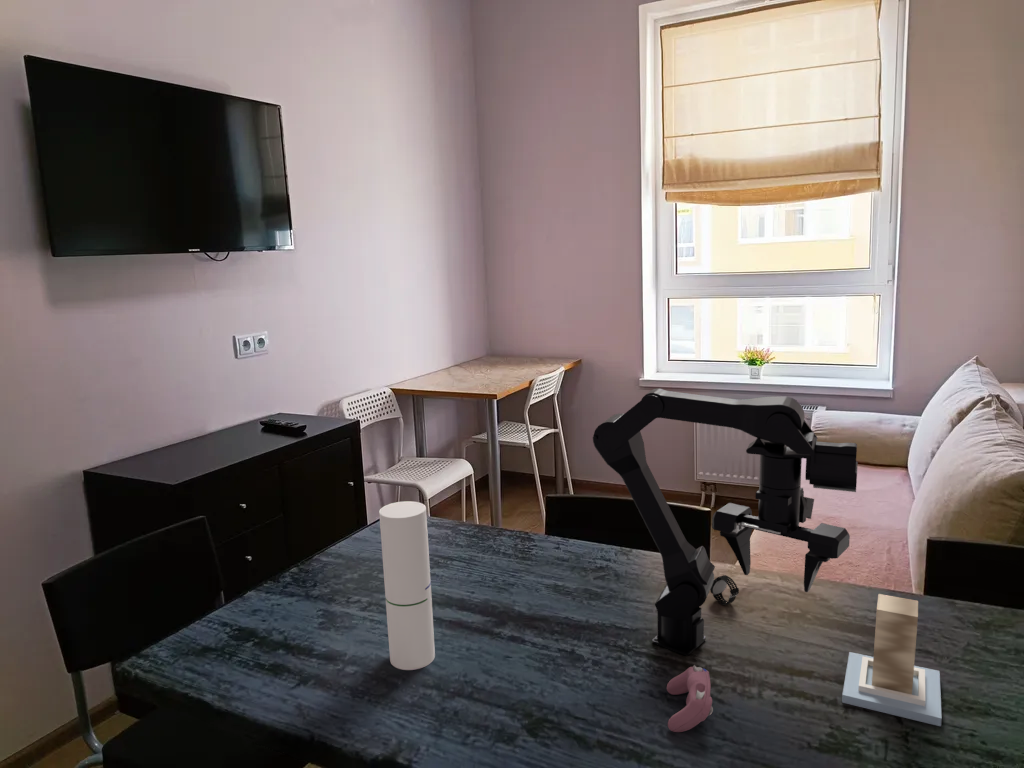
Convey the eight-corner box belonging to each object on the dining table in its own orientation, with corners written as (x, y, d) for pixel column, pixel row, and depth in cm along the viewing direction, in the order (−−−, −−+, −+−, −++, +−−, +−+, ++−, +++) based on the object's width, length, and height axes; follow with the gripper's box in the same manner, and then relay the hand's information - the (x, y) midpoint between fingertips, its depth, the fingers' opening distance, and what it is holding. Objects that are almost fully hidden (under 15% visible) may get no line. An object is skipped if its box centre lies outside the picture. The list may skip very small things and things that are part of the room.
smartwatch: (728, 596, 135) (729, 570, 134) (740, 609, 130) (741, 583, 129) (706, 598, 134) (707, 572, 133) (717, 612, 129) (718, 585, 128)
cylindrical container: (442, 648, 121) (433, 503, 116) (423, 673, 114) (413, 520, 109) (402, 642, 123) (393, 499, 118) (381, 665, 116) (370, 515, 111)
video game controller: (696, 747, 98) (721, 707, 96) (664, 730, 98) (689, 690, 96) (692, 701, 107) (715, 664, 106) (663, 686, 108) (686, 649, 106)
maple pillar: (871, 687, 105) (876, 609, 102) (873, 669, 109) (878, 593, 107) (911, 696, 102) (917, 617, 100) (912, 677, 106) (918, 600, 104)
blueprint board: (841, 702, 103) (842, 689, 103) (849, 658, 114) (849, 647, 113) (940, 726, 98) (942, 712, 97) (938, 678, 108) (939, 666, 108)
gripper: (864, 481, 108) (858, 580, 111) (742, 459, 120) (740, 549, 123) (838, 502, 100) (833, 609, 103) (711, 477, 112) (709, 573, 115)
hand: (776, 582), depth 111 cm, fingers open, 9 cm apart
